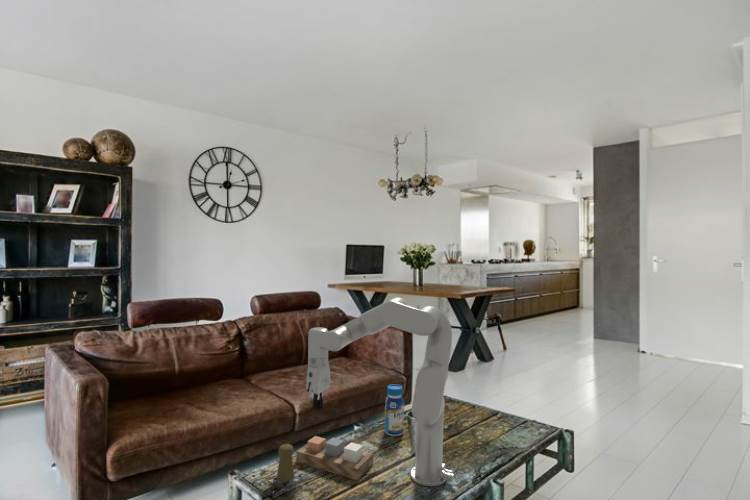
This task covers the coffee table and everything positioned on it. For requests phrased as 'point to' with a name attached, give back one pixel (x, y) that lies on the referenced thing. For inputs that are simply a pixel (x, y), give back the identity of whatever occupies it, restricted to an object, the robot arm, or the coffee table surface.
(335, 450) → the grey cube
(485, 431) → the coffee table surface
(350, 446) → the key ivory
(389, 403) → the beverage bottle
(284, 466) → the cork
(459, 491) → the coffee table surface
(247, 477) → the coffee table surface
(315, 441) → the key terracotta
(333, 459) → the wooden slotted tray
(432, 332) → the robot arm
